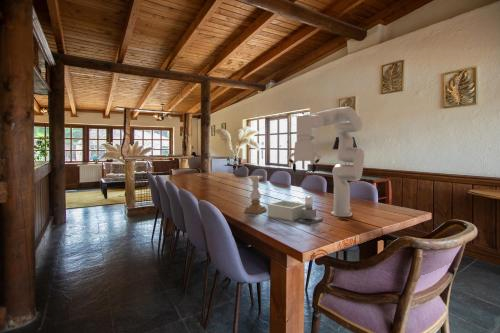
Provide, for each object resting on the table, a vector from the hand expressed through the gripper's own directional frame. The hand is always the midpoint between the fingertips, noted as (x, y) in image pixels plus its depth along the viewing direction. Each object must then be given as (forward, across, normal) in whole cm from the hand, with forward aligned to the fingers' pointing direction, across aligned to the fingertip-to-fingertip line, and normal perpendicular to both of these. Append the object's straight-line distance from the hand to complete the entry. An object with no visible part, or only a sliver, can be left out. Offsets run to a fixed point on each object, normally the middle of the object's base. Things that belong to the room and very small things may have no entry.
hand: (304, 171), depth 143 cm
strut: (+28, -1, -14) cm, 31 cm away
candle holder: (+30, +35, -29) cm, 54 cm away
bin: (+30, +12, -20) cm, 38 cm away
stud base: (+30, -1, -14) cm, 33 cm away
